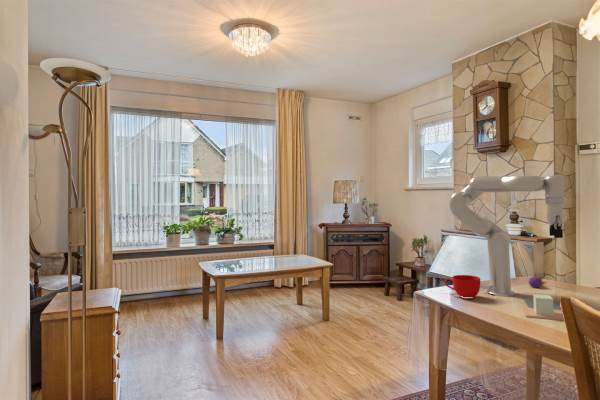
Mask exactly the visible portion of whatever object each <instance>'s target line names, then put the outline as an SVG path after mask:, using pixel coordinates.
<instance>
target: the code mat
mask: <svg viewBox="0 0 600 400" xmlns="http://www.w3.org/2000/svg"><path fill="white" fill-rule="evenodd" d="M523 301H524V303H525V304H526V306H527V307H528V309H534V300H533V299H523ZM560 302H561V301H556V300H555V301H554V300H553V311H562V310H561V307H560Z"/></svg>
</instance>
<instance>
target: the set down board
mask: <svg viewBox="0 0 600 400" xmlns="http://www.w3.org/2000/svg"><path fill="white" fill-rule="evenodd" d="M553 311H554V316H546V315H536V313H535V311H534V308H522V312H523V313H524V316H525V318H532V319H544V320H555V321H556V320H557V321H565V320H564V318H563V315H564V313H562V310H553Z"/></svg>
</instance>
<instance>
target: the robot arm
mask: <svg viewBox="0 0 600 400" xmlns="http://www.w3.org/2000/svg"><path fill="white" fill-rule="evenodd" d="M564 183H565V182H564V176H563V175H559V174H558V175H556V174H555V175H547V176H538V175H519V176H518V175H512V176H509V175H497V176H496V175H494V176H493V175H492V176H491V175H490V176H474V177H472V178H471V179H470V180H469V182H468V185H467V186H466V187H464V189H462V190H461V191H456V192H454V193H452V195H451V196H450V199H449V209H450V211H451V213H452V215H453V216H454V217H455V218H456V219H457V220H458V221H459V222H460V223H462V224H463V225H464V226H465V227H466V228H468V229H469V230H470V231H471V232H472V233H474V235H475V236H478V237H483V238H484V239H485V240H486V241H487V253H488V266H489V267H488V269H489V270H488V271H489V282H488V283H487V284H481V283H480V289H483V290H486V293H487V292H488V293H490V294H489V295H491V294H493V295H492V296H496V295H499V296H498V297H513V296H515V294H516V293H515V291H514V290H512V285H511V262H510V259H511V258H510V257H511V256H510V245H511V243H512V240H511V236H510V234H508V232H506V231H505V230H503V229H502V228H501V227H499V226H498V225H497V224H496V223H495V222H494V221H493V220H490V219H488V218H486V217H481V216H480V215H479V214H478V213H476V212H475V211H474V210H472V209H471V208H469V205H470V204H472V203H473V202H474V201H475V200H477V199H478V198H479V197H480V196H481V195H483V194H484V193H510V192H541V191H544V201H545V205H546V224H547V225H548V226H549V229H548V230H549V236H550V237H551V236H552V237H554V238H555V239H563V238H564V235H563V234H564V233H563V232H564V231H563V224H564V212H563V205H565V184H564ZM488 293H487V294H488Z"/></svg>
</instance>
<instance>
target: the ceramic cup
mask: <svg viewBox="0 0 600 400" xmlns="http://www.w3.org/2000/svg"><path fill="white" fill-rule="evenodd" d="M448 280H449V281H451V283H452V285H453V287H452V286H450V285H448V283H447V281H448ZM480 284H481V278H480V277H479V276H477V275H471V274H470V275H469V274H456V275H453V276H452V278H449V277H447V278H445V279H444V285H445V286H446V287H447V288H449V289H451V290H453V291H455V293H456V295H458V296H459V295H460V296H463V297H474V298H475V297H476V296H478V295H479V292H480V291H481V290H480V289H481V288H480ZM460 296H459V297H460Z"/></svg>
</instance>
